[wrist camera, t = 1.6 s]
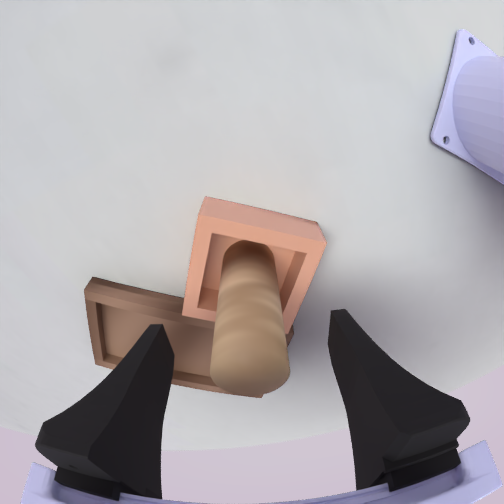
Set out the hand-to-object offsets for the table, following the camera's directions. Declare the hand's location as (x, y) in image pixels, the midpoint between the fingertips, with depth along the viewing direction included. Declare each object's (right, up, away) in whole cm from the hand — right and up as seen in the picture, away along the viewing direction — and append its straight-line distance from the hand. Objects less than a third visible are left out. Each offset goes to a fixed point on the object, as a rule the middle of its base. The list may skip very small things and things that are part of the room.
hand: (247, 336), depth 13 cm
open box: (0, +3, +6) cm, 6 cm away
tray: (-5, -3, +9) cm, 11 cm away
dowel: (0, +3, +5) cm, 6 cm away
